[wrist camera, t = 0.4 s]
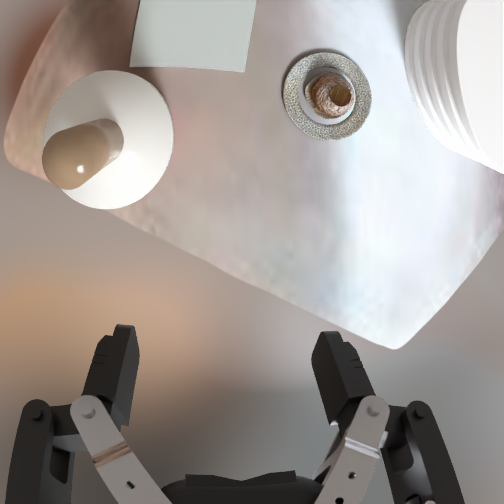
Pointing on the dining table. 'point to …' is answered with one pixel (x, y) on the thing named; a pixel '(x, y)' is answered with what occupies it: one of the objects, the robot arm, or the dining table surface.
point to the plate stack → (460, 75)
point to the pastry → (328, 96)
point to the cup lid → (108, 139)
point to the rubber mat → (193, 34)
